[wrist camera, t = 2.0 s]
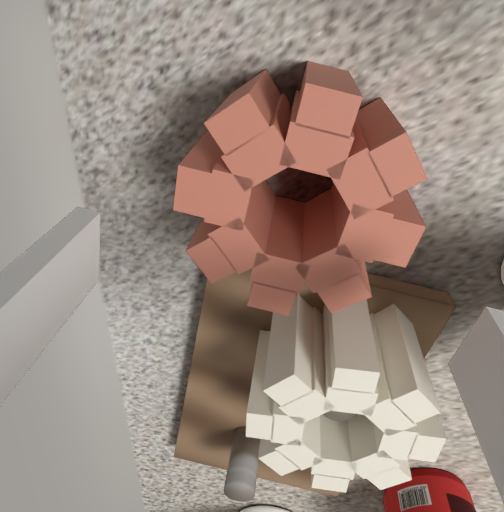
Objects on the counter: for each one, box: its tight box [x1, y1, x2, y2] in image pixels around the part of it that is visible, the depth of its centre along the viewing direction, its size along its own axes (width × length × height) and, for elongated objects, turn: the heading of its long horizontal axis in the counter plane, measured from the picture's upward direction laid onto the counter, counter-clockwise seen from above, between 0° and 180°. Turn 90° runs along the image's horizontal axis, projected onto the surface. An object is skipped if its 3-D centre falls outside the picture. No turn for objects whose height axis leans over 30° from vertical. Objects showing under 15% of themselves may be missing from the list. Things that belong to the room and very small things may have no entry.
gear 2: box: [246, 294, 446, 493], centre depth 26 cm, size 11×11×7 cm
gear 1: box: [173, 61, 428, 316], centre depth 21 cm, size 11×11×7 cm
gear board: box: [174, 269, 456, 501], centre depth 31 cm, size 24×16×6 cm, turn 168°
